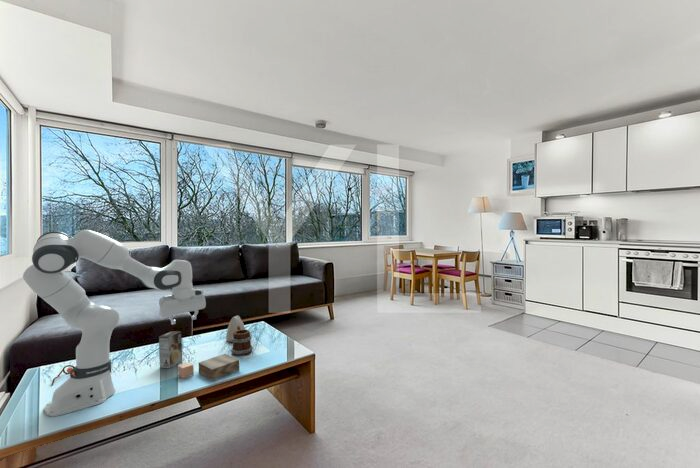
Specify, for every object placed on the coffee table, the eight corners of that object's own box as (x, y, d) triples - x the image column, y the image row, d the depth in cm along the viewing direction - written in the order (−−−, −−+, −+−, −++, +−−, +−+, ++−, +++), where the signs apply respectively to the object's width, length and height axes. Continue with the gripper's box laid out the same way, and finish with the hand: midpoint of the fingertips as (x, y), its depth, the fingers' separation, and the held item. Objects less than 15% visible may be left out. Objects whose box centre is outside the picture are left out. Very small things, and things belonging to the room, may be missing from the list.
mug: (233, 358, 174) (231, 329, 176) (228, 354, 186) (227, 327, 188) (255, 353, 180) (253, 326, 182) (249, 350, 192) (247, 324, 194)
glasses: (96, 370, 163) (95, 360, 163) (85, 381, 151) (85, 371, 151) (63, 375, 159) (63, 365, 158) (50, 387, 146) (49, 376, 146)
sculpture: (232, 335, 212) (231, 312, 212) (249, 335, 211) (249, 313, 211) (222, 342, 199) (222, 318, 199) (241, 342, 198) (240, 318, 198)
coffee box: (172, 360, 173) (171, 330, 173) (182, 361, 172) (182, 331, 172) (159, 367, 164) (158, 336, 164) (170, 368, 163) (169, 337, 163)
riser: (212, 380, 150) (212, 369, 150) (198, 372, 158) (198, 362, 158) (239, 369, 161) (239, 359, 160) (225, 363, 169) (225, 353, 169)
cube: (183, 378, 152) (182, 368, 152) (178, 375, 155) (178, 365, 155) (193, 374, 156) (193, 364, 156) (188, 372, 159) (188, 361, 159)
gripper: (161, 298, 145) (162, 328, 145) (206, 290, 160) (207, 318, 161) (156, 296, 149) (157, 325, 150) (201, 288, 164) (202, 315, 165)
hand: (184, 321), depth 155 cm, fingers open, 8 cm apart
